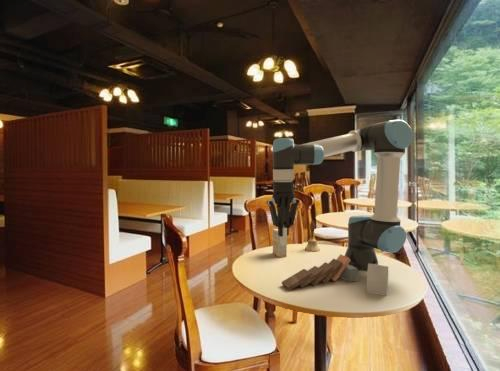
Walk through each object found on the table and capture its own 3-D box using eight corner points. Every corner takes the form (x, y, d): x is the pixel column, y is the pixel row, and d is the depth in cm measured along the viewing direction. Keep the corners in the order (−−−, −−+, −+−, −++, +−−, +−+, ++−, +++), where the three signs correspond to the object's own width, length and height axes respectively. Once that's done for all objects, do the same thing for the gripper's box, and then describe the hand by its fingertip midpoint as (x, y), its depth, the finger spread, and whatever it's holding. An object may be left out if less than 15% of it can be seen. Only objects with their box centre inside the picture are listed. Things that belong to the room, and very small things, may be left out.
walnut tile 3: (306, 281, 115) (326, 265, 118) (314, 285, 110) (334, 269, 114) (305, 277, 114) (325, 262, 118) (312, 282, 110) (333, 266, 113)
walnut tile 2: (294, 283, 112) (316, 269, 116) (301, 288, 108) (324, 273, 112) (293, 279, 112) (315, 265, 116) (300, 284, 108) (322, 269, 111)
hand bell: (305, 251, 155) (305, 222, 154) (304, 247, 163) (304, 219, 162) (321, 251, 154) (321, 222, 153) (318, 247, 162) (319, 219, 161)
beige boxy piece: (386, 295, 102) (387, 268, 101) (366, 291, 105) (367, 264, 105) (387, 292, 105) (388, 265, 104) (368, 287, 108) (369, 262, 108)
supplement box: (287, 256, 145) (287, 231, 145) (278, 257, 144) (278, 232, 143) (280, 252, 153) (281, 228, 152) (272, 252, 152) (272, 228, 151)
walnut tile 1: (282, 285, 110) (305, 272, 114) (289, 290, 106) (312, 276, 110) (281, 282, 110) (304, 268, 114) (288, 287, 105) (311, 272, 109)
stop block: (340, 271, 125) (340, 260, 124) (357, 280, 116) (357, 268, 115) (332, 273, 123) (333, 261, 123) (349, 281, 114) (349, 269, 114)
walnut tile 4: (317, 279, 117) (335, 261, 120) (325, 283, 112) (343, 265, 115) (315, 276, 116) (333, 258, 119) (323, 280, 112) (341, 262, 115)
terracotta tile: (327, 277, 119) (342, 256, 121) (335, 281, 114) (350, 260, 117) (324, 274, 118) (340, 254, 121) (333, 279, 114) (348, 257, 116)
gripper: (293, 180, 111) (293, 240, 112) (262, 181, 105) (263, 244, 107) (304, 181, 104) (303, 245, 105) (272, 182, 99) (272, 249, 100)
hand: (283, 244), depth 106 cm, fingers closed
